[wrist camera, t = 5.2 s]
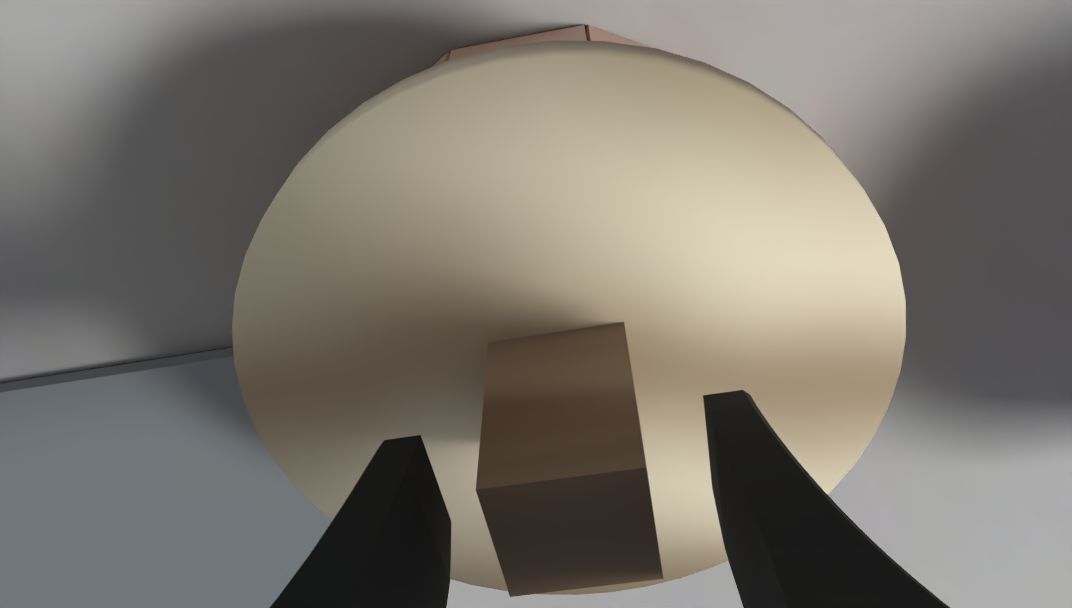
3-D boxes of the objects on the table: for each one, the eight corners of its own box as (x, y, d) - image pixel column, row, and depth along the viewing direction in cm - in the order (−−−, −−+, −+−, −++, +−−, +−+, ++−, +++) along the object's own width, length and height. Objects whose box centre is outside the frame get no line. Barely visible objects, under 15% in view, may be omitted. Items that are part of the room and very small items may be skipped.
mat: (413, 638, 26) (412, 649, 26) (67, 677, 28) (62, 688, 27) (281, 339, 20) (276, 349, 19) (-164, 409, 21) (-176, 419, 21)
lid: (876, 530, 18) (958, 718, 15) (358, 592, 20) (317, 779, 16) (910, -31, 12) (1072, 60, 8) (130, 116, 13) (-26, 251, 9)
